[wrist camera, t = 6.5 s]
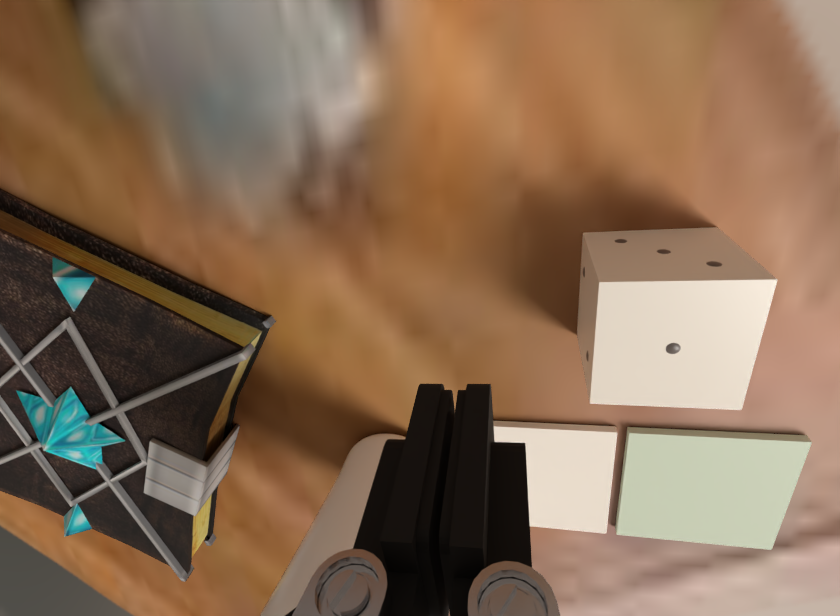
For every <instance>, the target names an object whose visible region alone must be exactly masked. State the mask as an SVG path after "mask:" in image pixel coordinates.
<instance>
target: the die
mask: <svg viewBox="0 0 840 616" xmlns="http://www.w3.org/2000/svg"><path fill="white" fill-rule="evenodd" d="M777 280H778V279H776V278H775V277H774V276H773V275H772V274H771V273H770V272H768V271H767V270H766V269H765V268H764V267H763V266H762V265H760V264H759V263H758V262H757V261H756V260H755V259H754V258H752V257H751V256H750V255H749V254H748V253H747V252H745V251H744V250H743V249H742V248H741V247H740V246H739V245H737V244H736V243H735V242H734V241H733V240H732V239H731V238H729V237H728V236H727V235H726V234H725V233H724V232H723V231H721V230H720V229H719V228H718V227H710V228H684V229H658V230H633V231H607V232H583V238H582V255H581V273H580V290H579V307H578V325H577V338H578V343H579V349H580V354H581V359H582V365H583V370H584V375H585V381H586V386H587V392H588V397H589V402H590V404H612V405H635V406H659V407H682V408H706V409H729V410H742V407H743V403H744V399H745V396H746V392H747V388H748V385H749V381H750V378H751V374H752V370H753V367H754V363H755V359H756V356H757V352H758V349H759V345H760V341H761V338H762V334H763V330H764V327H765V323H766V320H767V316H768V312H769V309H770V305H771V301H772V298H773V294H774V291H775V287H776V283H777Z"/></svg>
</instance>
